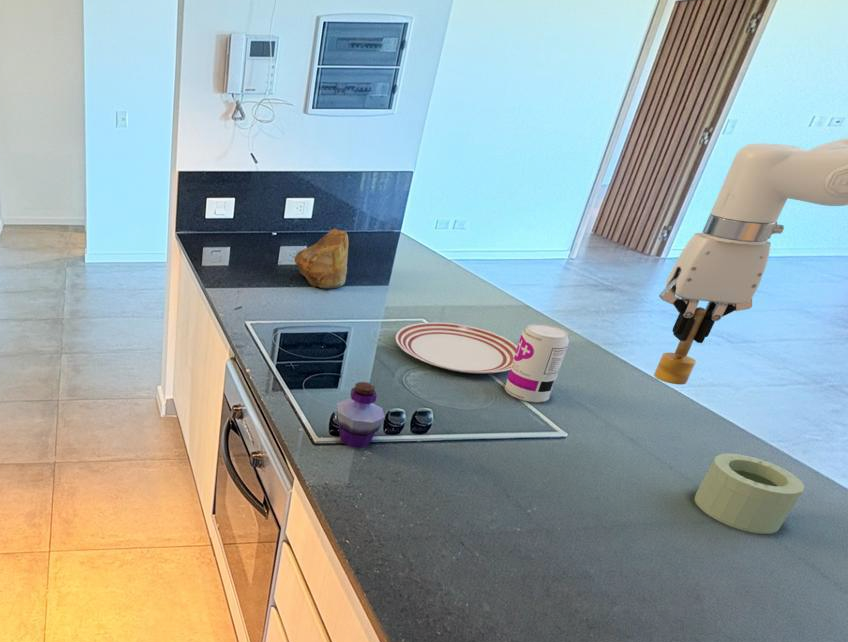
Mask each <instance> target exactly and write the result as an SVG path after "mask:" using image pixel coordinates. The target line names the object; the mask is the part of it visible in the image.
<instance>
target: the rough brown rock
mask: <svg viewBox="0 0 848 642" xmlns="http://www.w3.org/2000/svg"><path fill="white" fill-rule="evenodd" d="M349 245H350V244H349V235H348V232H347V231H345V230H340V229H338V228H332V229H331V230H330V231H329V232H326V234H324V235H323V236H322V238H320V239H319V240H318V241H317V242H315V243H314V244H313V245H311V246H308V247H306V248H303V249H301V250H299V251H298V252H297V253H296V255H295V256H294V263H295V264H296V267H297V268H298V270H299V274H301V275H302V276H304V277H305V279H306V281H307V282H308V283H309V285H311V286H312V287H313V288H316V287H319V288H320V289H325V290H326V289H338V288H340V287H342V286H344V285H345V284H346V280H347V274H348V258H349V256H348V255H349Z"/></svg>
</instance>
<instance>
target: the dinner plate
mask: <svg viewBox="0 0 848 642" xmlns="http://www.w3.org/2000/svg"><path fill="white" fill-rule="evenodd" d="M395 342H396V345H398V347H399V348H400V349H401V350H402V351H404V352H405V353H406V354H408V355H410V356H411V357H413V358H415V359H417V360H419V361H420V362H423V363H426V364H428V365H431V366H434V367H437V368H440V369H444V370H448V371H453V372H459V373H464V374H477V375H478V374H480V375H481V374H497V373H503V372H508V371H510V369H511V366H512V362H513V359H514V356H515V353H516V350H517V347H518V344H515V343H514V342H513V341H512V340H510V339H508V338H506V337H504V336H502V335H500V334H497V333H495V332H493V331H489V330H486V329H483V328H479V327H475V326H470V325H465V324H460V323H453V322H452V323H451V322H441V321H439V322H438V321H436V322H435V321H434V322H432V321H430V322H429V321H428V322H418V323H413V324H409V325H407V326H404V327H402V328H400V330H398V331H397V332H396V335H395Z"/></svg>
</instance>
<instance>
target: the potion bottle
mask: <svg viewBox="0 0 848 642" xmlns="http://www.w3.org/2000/svg"><path fill="white" fill-rule="evenodd" d="M349 395H350V398H346V399H344V400H341V401H338V402H337V403H336V414H337V416H336V417H337V422H338V428H339V429H338V430H339V439H340V442H341V443H343V444H344V445H346V446H348V447H350V448H359V449H363V448H365V447H366V446H368V445H370V443H371V442H372V439H373V438H374V436H375V434H376V432H379V429H380V428H381V426H382V424H383V422H384V420H385V418H386V416H385V413H384V410H383V407H381V406H379V405H377V404H376V401H377V396H378V395H377V392H376V390H375V386H374V385H373V384H371V383H370V382H366V381H358V382H356V383H355V385H354V387H353V388H351V390H350V394H349Z"/></svg>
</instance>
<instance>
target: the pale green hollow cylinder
mask: <svg viewBox="0 0 848 642" xmlns="http://www.w3.org/2000/svg"><path fill="white" fill-rule="evenodd" d="M804 491H805V485H804V483H803V481H802V480H800V478H799V477H798V476H796V475H795V474H794V473H792V472H790V471H788V470H787V469H785V468H783V467H781V466H778V465H777V464H774V463H772V462H770V461H766V460H763V459H761V458H758V457H753V456H750V455H745V454H739V453H722V454H717V455H716V456H715V457H714V458H713V460H712V461H711V464H710V466H709V467H708V470H707V472H706V473H705V475H704V477H703V479H702V481H701V483H700V485H699V487H698V488H697V491H696V493H695V495H694V502H695V504H696V506H697V507H698V508H699V509H700V510H701V511H703V512H704V513H705V514H707V516H709V517H711V518H712V519H714V520H716V521H718V522H720V523H723V524H725V525H726V526H728V527H729V526H730V527H732V528H735V529H738V530H741V531H745V532H749V533H754V534H762V535H769V534H770V535H771V534H775V533H777V532H778V531H779V530H780V528H781V527H782V526H783V524H784V522H785V521H786V519H787V518H788V516H789V514H790V513H791V511H792V509H793V508H794V506H795V505H796V503H797V501H798V500H799V498H800V497H801V495H802V493H803V492H804Z"/></svg>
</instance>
